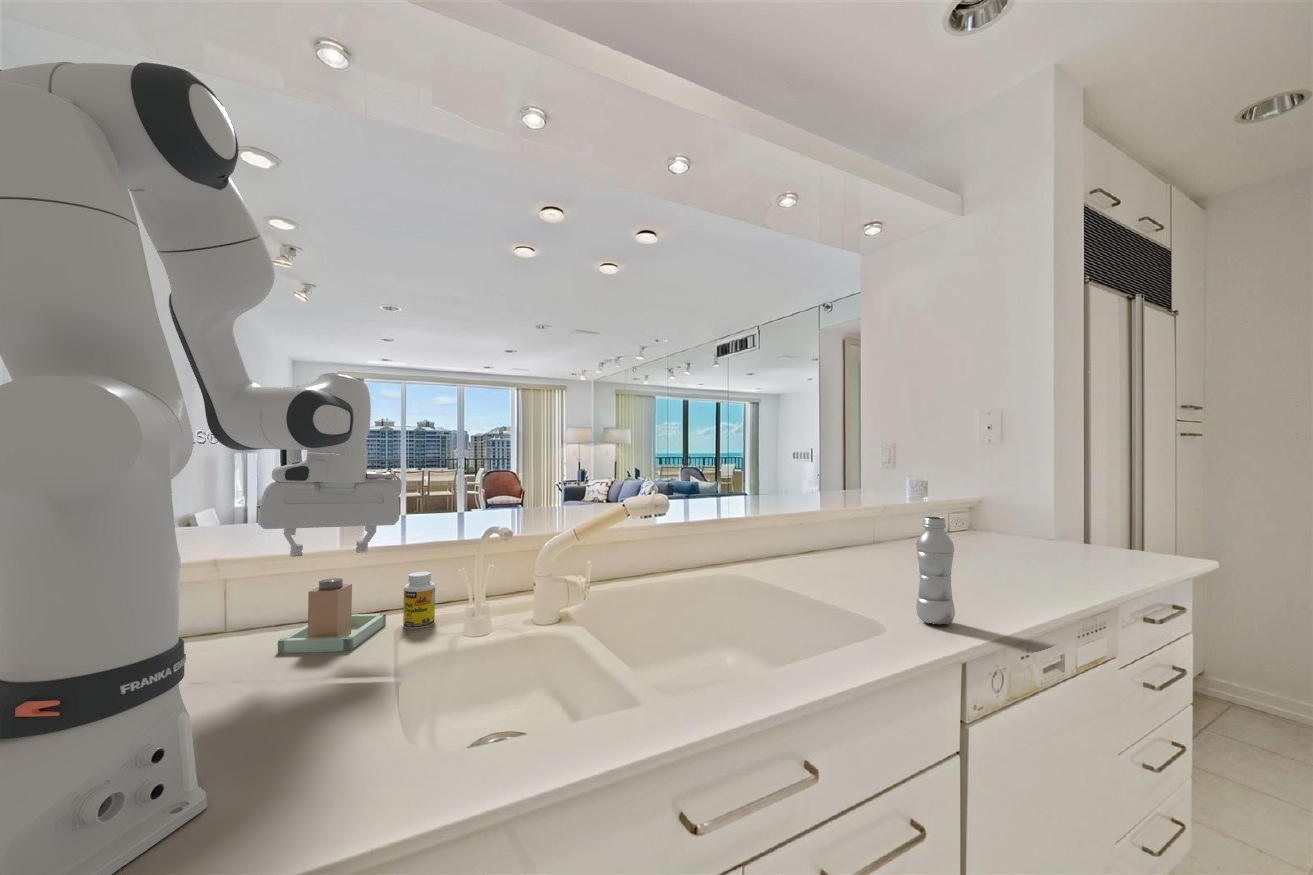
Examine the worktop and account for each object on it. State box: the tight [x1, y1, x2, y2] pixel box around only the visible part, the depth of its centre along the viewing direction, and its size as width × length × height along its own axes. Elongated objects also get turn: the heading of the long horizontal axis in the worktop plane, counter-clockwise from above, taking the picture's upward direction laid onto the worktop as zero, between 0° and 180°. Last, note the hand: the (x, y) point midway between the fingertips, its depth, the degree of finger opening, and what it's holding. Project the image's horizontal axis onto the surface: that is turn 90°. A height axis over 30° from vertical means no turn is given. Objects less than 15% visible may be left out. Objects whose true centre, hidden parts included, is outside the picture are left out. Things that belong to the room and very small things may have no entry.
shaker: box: [307, 577, 353, 638], centre depth 88 cm, size 5×5×10 cm
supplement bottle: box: [402, 571, 436, 629], centre depth 97 cm, size 5×5×10 cm
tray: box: [277, 613, 387, 654], centre depth 90 cm, size 13×11×2 cm
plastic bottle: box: [915, 516, 956, 625], centre depth 100 cm, size 6×7×20 cm
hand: (329, 554), depth 88 cm, fingers open, 8 cm apart
